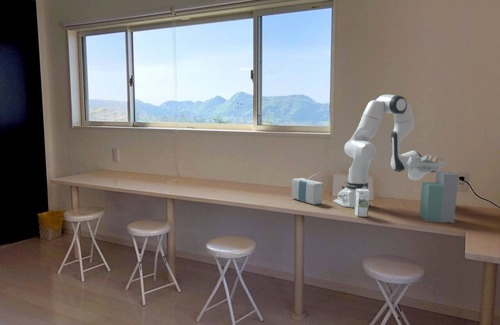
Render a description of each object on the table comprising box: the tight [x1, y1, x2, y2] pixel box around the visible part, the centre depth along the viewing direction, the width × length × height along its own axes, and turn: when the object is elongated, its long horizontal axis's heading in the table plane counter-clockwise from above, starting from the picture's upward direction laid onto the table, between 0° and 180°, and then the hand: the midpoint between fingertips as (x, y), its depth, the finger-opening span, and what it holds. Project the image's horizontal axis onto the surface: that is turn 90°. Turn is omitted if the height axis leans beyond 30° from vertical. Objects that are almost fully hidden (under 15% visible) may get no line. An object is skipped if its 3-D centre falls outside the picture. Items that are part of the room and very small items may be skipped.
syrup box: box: [353, 188, 370, 218], centre depth 216 cm, size 6×6×14 cm
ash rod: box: [425, 154, 445, 163], centre depth 222 cm, size 19×3×3 cm, turn 176°
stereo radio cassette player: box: [291, 171, 324, 206], centre depth 247 cm, size 21×8×20 cm, turn 33°
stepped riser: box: [419, 170, 459, 224], centre depth 210 cm, size 10×14×25 cm
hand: (431, 157), depth 227 cm, fingers closed on ash rod, 3 cm apart
